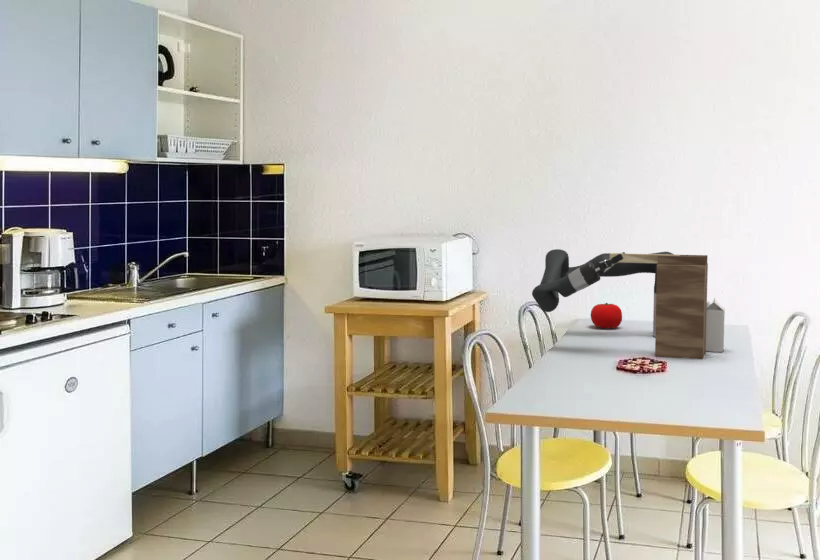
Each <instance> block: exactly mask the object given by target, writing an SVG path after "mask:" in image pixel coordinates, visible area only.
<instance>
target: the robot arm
mask: <svg viewBox="0 0 820 560" xmlns="http://www.w3.org/2000/svg"><path fill="white" fill-rule="evenodd" d="M622 253H623V254H628V252H627V253H625V252H624V251H623V252H622ZM610 254H611V253H610V252H608V253H600V254H598V255H596V256H595V257H593V258H592V259H590V260H588V261H587V262H585V263H584V264H580V265H577V266H571V267H570V260H569V259H570V256H569V253H568V252H567V251H566V250H563V249H561V248H559V249H558V248H556V249H551V250H550V251H548V252H546V253H545V266H544V267H545V268H544V271H543V275H542V278H541V280H540V283H539V285H537V286H535V287H533V290H532V291H531V295H532V297H533V299H534V300H535V301H536V304H537V305H538V307H539V308H540V309H541V310H542V311H543V312H545V313H550V312H553V311H555V310H556V309H557V308H558V306H559V303H560V296H562V297H563V298H568V297H570V296H572V295H574V294H576V293H577V292H580V291H582V290H585V289H586V288H588V287H590V286H591V285H593V284H595V283H597V282H599V281H600V280H601V278H602V277H606V278H607V277H610V278H611V277H623V276H631V275H635V274H654V284H653V285H654V286H653V317H652V318H653V320H652V321H653V322H652V324H653V325H652V337H654V338H655V335H656V283H657V265H658V263H620V262H619V261H621V260H622V259H623V256H622V255H621V254H618V255H617V256H615V257H613V258H610ZM651 254H671V255H675V254H674V253H673V252H670V251H660V252H653V253H651ZM611 259H612V260H611Z"/></svg>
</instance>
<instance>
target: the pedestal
mask: <svg viewBox="0 0 820 560" xmlns="http://www.w3.org/2000/svg"><path fill="white" fill-rule="evenodd" d="M679 255H680V256H658V265H657V283H656V335H655V337H654V338H655V343H654V344H655V347H654V357H662V358H678V359H693V360H694V359H697V360H703V359H704V357H705V355H706V354H707V351H706V318H707V302H708V274H709V273H708V271H709V270H708V269H709V264H708V255H706V254H679Z"/></svg>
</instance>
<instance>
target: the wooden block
mask: <svg viewBox="0 0 820 560" xmlns="http://www.w3.org/2000/svg"><path fill="white" fill-rule="evenodd" d="M618 254H621V255H622V256H623V259H622V260H621V261H619V262H620V263H658V256H680V255H681V254H674V255H671V254H652V253H627V254H623V252H612V253H611V254H610V258H613V257H615V256H617V255H618ZM611 260H612V259H611Z"/></svg>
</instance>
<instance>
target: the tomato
mask: <svg viewBox="0 0 820 560" xmlns="http://www.w3.org/2000/svg"><path fill="white" fill-rule="evenodd" d="M590 319H591V322H592V324H593V325H594V326H595V327H596V328H601V329H615V328H617V327H619V326H620V325H621V324H622V321H623V313H622V309H621V308H620V306H618V305H617V304H615V303H608V302H606V303H599V304H596V305H594V306H593V307H592V308H591V311H590Z"/></svg>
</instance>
